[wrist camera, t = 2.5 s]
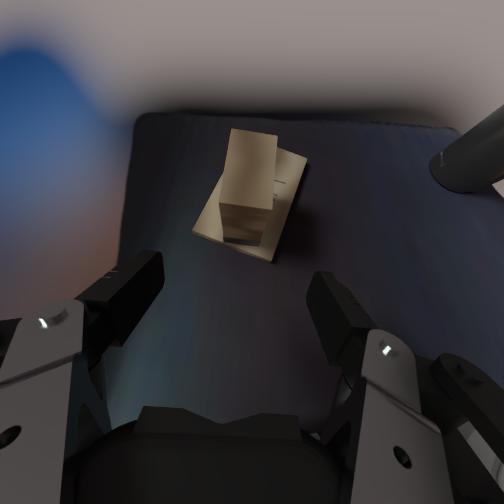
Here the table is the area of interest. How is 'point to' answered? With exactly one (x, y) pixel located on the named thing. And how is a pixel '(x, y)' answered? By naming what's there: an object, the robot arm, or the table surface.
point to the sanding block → (247, 187)
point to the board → (283, 194)
